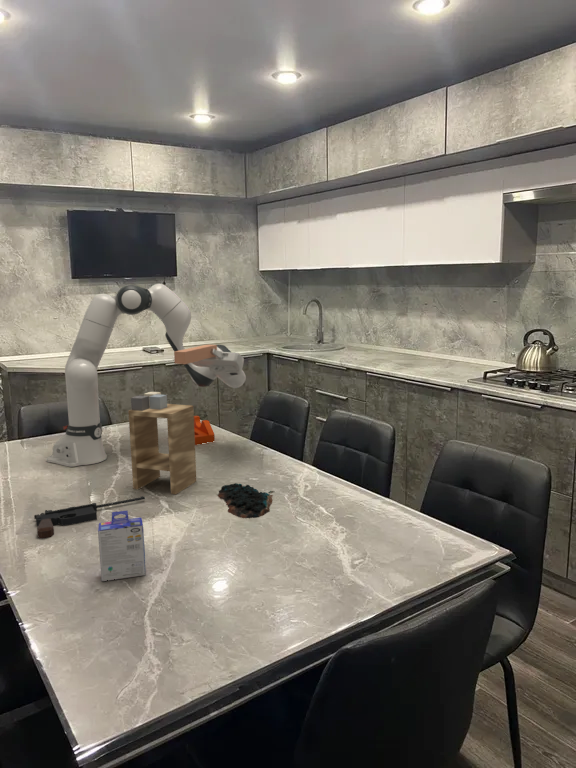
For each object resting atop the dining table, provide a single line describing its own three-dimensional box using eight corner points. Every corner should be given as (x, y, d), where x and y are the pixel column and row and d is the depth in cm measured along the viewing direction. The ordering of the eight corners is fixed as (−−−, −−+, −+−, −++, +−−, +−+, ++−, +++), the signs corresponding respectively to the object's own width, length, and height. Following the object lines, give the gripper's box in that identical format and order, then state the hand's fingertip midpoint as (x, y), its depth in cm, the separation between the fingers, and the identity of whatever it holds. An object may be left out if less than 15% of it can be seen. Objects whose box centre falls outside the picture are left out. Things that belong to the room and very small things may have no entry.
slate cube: (149, 408, 190) (149, 396, 190) (156, 406, 194) (156, 394, 193) (160, 409, 189) (159, 397, 188) (167, 407, 193) (166, 394, 192)
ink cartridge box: (145, 565, 140) (141, 506, 138) (146, 575, 135) (143, 515, 133) (101, 571, 138) (97, 512, 135) (101, 582, 132) (96, 521, 130)
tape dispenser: (170, 438, 256) (169, 419, 255) (198, 433, 263) (197, 415, 261) (186, 447, 241) (185, 427, 240) (214, 442, 248) (214, 423, 246)
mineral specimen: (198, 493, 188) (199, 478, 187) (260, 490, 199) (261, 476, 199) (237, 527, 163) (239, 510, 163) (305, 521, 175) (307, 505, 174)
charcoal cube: (131, 410, 189) (130, 397, 188) (139, 407, 192) (138, 395, 192) (142, 410, 187) (141, 398, 187) (149, 408, 191) (148, 396, 190)
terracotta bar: (174, 363, 193) (174, 351, 193) (207, 355, 214) (206, 344, 213) (185, 364, 192) (184, 351, 191) (217, 356, 212) (216, 344, 212)
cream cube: (144, 405, 195) (143, 393, 194) (151, 403, 199) (150, 391, 198) (154, 406, 194) (154, 394, 193) (161, 404, 197) (160, 392, 197)
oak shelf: (133, 488, 192) (128, 410, 188) (155, 476, 204) (151, 402, 200) (175, 494, 187) (171, 413, 182) (196, 481, 199) (193, 405, 194)
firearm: (157, 517, 170) (143, 500, 183) (156, 507, 169) (142, 491, 182) (39, 541, 155) (33, 521, 168) (38, 530, 155) (32, 511, 168)
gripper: (199, 356, 225) (181, 341, 213) (248, 358, 218) (233, 343, 206) (195, 372, 223) (177, 357, 211) (244, 374, 216) (229, 359, 204)
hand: (205, 350), depth 208 cm, fingers closed on terracotta bar, 4 cm apart
